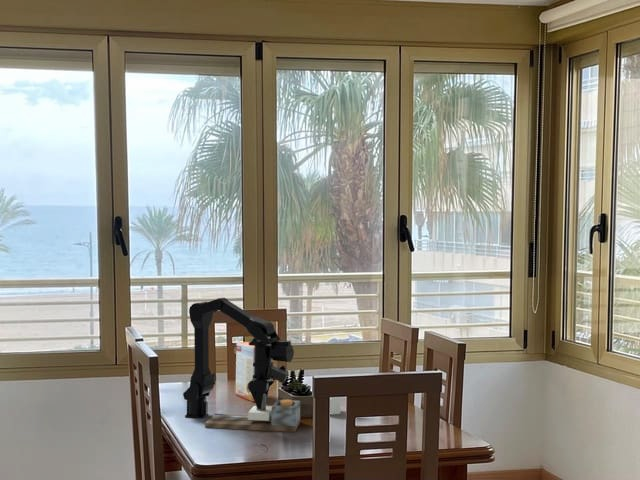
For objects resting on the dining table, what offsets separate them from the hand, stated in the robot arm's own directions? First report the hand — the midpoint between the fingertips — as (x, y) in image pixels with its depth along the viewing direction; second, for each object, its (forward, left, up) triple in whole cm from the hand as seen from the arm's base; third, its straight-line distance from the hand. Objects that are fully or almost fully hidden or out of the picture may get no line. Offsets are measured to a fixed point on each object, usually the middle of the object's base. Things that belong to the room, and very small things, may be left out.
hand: (261, 405), depth 236 cm
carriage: (0, 0, -4) cm, 4 cm away
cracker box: (-12, +37, -7) cm, 39 cm away
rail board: (-3, 0, -6) cm, 7 cm away
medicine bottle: (+20, +20, -7) cm, 29 cm away
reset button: (+8, 0, -1) cm, 8 cm away
